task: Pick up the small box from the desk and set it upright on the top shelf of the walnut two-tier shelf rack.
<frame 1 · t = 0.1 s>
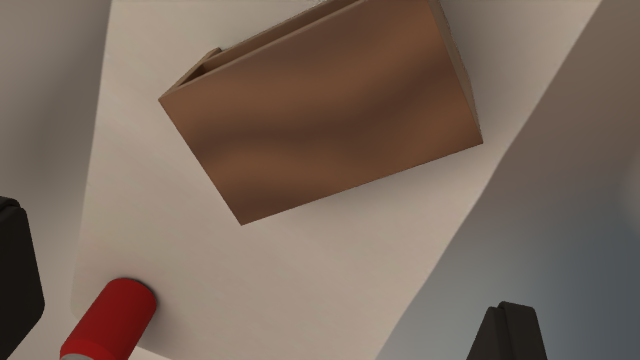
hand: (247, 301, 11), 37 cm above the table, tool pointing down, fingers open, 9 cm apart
shelf rack: (336, 68, 47), on the table
beverage can: (134, 293, 66), on the table
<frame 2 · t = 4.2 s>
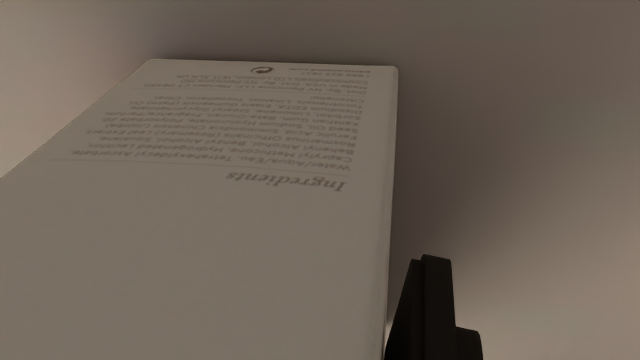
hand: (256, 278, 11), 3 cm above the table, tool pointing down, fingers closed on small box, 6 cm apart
small box: (285, 205, 14), on the table, touching gripper
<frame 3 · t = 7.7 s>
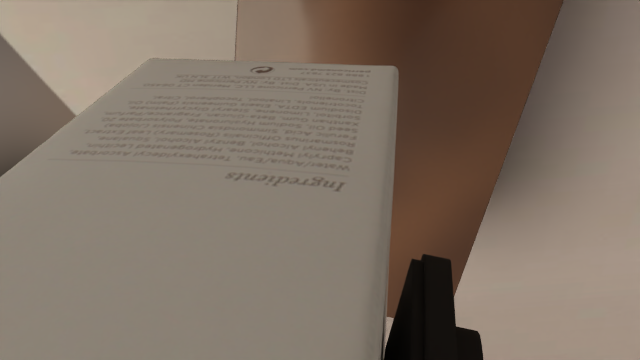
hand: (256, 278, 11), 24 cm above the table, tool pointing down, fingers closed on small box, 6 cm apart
shelf rack: (380, 60, 33), on the table
small box: (285, 205, 14), point 21 cm above the table, touching gripper
when the fingers open (14 cm above the table, at t = 11.3 s): small box stays where it is, resting on shelf rack.
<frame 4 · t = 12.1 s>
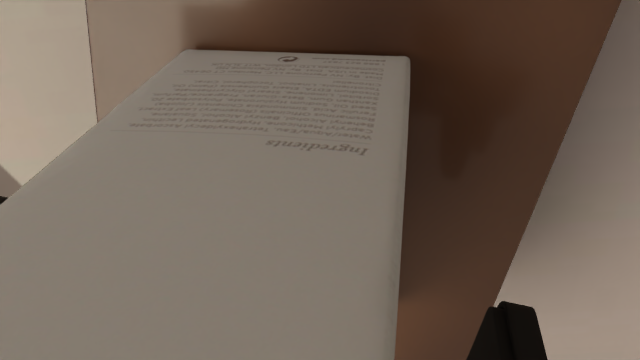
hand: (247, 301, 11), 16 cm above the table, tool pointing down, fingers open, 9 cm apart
shelf rack: (352, 63, 24), on the table
small box: (304, 186, 15), point 11 cm above the table, touching shelf rack
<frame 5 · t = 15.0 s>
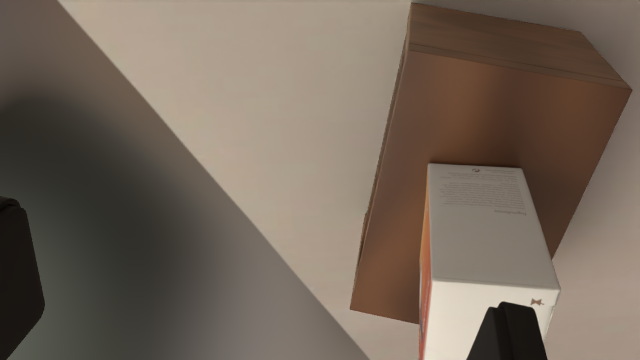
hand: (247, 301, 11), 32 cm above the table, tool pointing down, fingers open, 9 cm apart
shelf rack: (457, 140, 43), on the table
small box: (466, 215, 34), point 11 cm above the table, touching shelf rack
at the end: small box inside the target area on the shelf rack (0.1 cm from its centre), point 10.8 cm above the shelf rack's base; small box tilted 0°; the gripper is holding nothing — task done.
